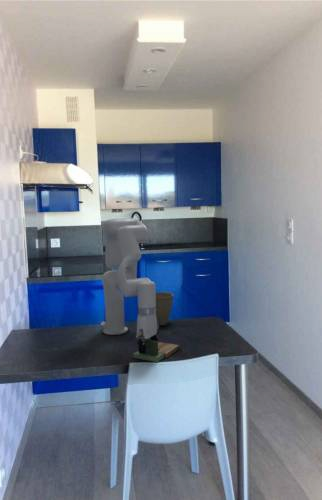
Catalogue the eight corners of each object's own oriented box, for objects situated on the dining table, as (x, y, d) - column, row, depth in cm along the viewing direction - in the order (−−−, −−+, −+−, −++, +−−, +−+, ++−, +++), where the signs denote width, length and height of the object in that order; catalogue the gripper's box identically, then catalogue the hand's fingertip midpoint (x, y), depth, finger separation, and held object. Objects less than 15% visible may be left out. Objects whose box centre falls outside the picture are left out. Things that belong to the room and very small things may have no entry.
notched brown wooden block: (138, 352, 198) (138, 348, 198) (152, 344, 209) (152, 341, 209) (166, 357, 192) (166, 353, 191) (179, 349, 202) (179, 345, 202)
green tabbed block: (133, 357, 192) (132, 340, 191) (144, 351, 200) (143, 334, 199) (157, 362, 186) (157, 344, 186) (167, 355, 194) (167, 338, 193)
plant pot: (179, 322, 244) (179, 294, 242) (161, 329, 233) (160, 299, 231) (159, 318, 254) (158, 290, 252) (140, 324, 243) (139, 295, 241)
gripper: (149, 305, 199) (151, 342, 201) (128, 314, 184) (129, 355, 186) (164, 306, 195) (165, 345, 197) (143, 316, 180) (145, 357, 182)
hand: (148, 349), depth 192 cm, fingers open, 9 cm apart
